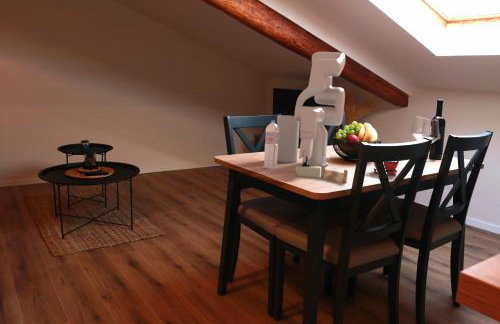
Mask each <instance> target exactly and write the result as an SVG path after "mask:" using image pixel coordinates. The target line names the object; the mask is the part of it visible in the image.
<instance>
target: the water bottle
mask: <svg viewBox="0 0 500 324" xmlns="http://www.w3.org/2000/svg"><path fill="white" fill-rule="evenodd" d="M264 140H265V141H264V142H265V143H264V155H263V157H264V158H263V159H264V160H263V169H264V170H276V169H278V141H279V127H278V126H277V123H276V120H274V119H273V120H272V119H271V121H270V123H269V124H268V125H267V126H266V128H265V139H264Z"/></svg>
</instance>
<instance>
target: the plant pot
mask: <svg viewBox="0 0 500 324" xmlns="http://www.w3.org/2000/svg"><path fill="white" fill-rule="evenodd" d="M399 162H400V160H399V161H397V162H384V166H385V169H386V172H387V174H388V175H387V176H393V175H396V174H397V173H398V170H397V167H398V165H399ZM373 165H374V164H373ZM373 171H374V172H375V173H376V169H375V165H374V168H373Z"/></svg>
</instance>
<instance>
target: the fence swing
mask: <svg viewBox="0 0 500 324" xmlns="http://www.w3.org/2000/svg"><path fill="white" fill-rule="evenodd" d="M295 176H297V177H307V178H308V177H309V178H321V167H319V166H315V167H314V166H309V167H304V166H302V165H301V166H300V165H295Z"/></svg>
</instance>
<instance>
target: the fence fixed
mask: <svg viewBox="0 0 500 324" xmlns="http://www.w3.org/2000/svg"><path fill="white" fill-rule="evenodd" d="M348 174H349V173H348V169H344V171H343V172H342V171H337V170H333V169H328V168H326V166H325V165H322V166H320V178H321V179H324V180H325V179H326V180H331V181H333V182H338V183H343V184H347V181H348Z"/></svg>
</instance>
